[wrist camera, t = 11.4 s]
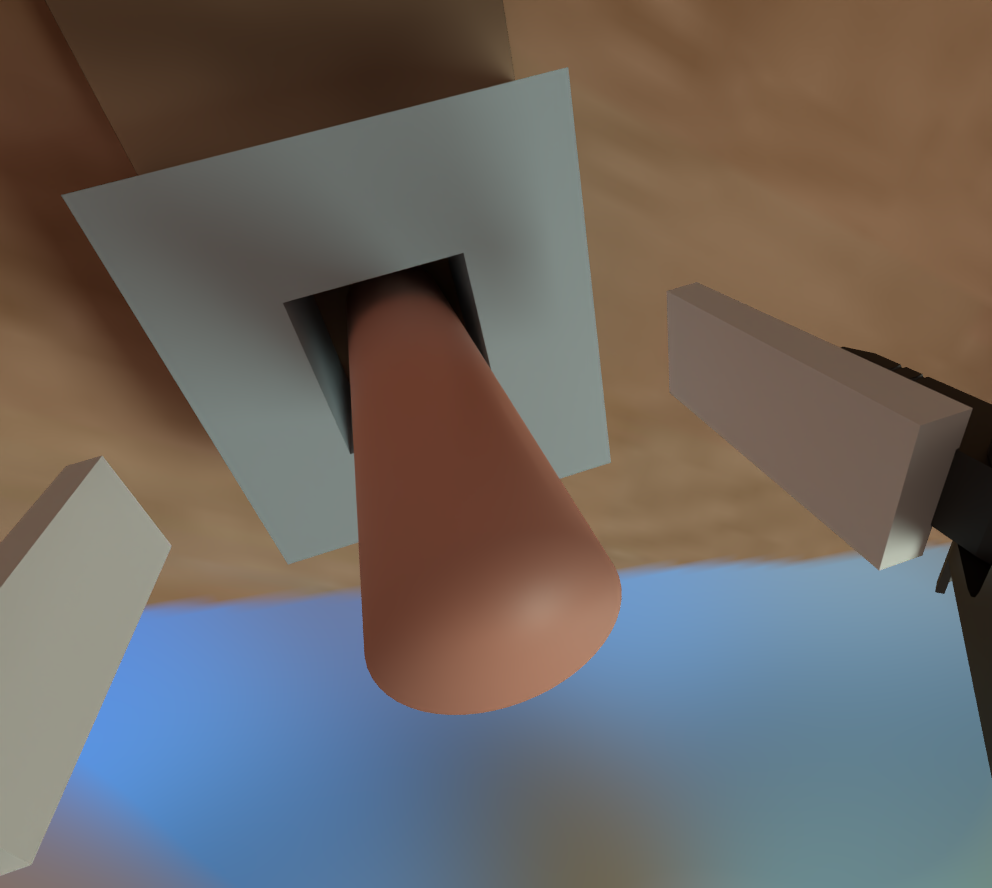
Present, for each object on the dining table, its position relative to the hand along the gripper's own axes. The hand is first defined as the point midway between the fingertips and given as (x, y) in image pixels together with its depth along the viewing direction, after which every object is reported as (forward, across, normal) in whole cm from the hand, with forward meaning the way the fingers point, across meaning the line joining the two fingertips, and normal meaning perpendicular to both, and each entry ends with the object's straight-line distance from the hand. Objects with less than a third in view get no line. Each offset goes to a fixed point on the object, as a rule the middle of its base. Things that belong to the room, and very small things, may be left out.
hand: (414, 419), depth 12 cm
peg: (+9, 0, 0) cm, 9 cm away
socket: (+9, 0, 0) cm, 9 cm away
